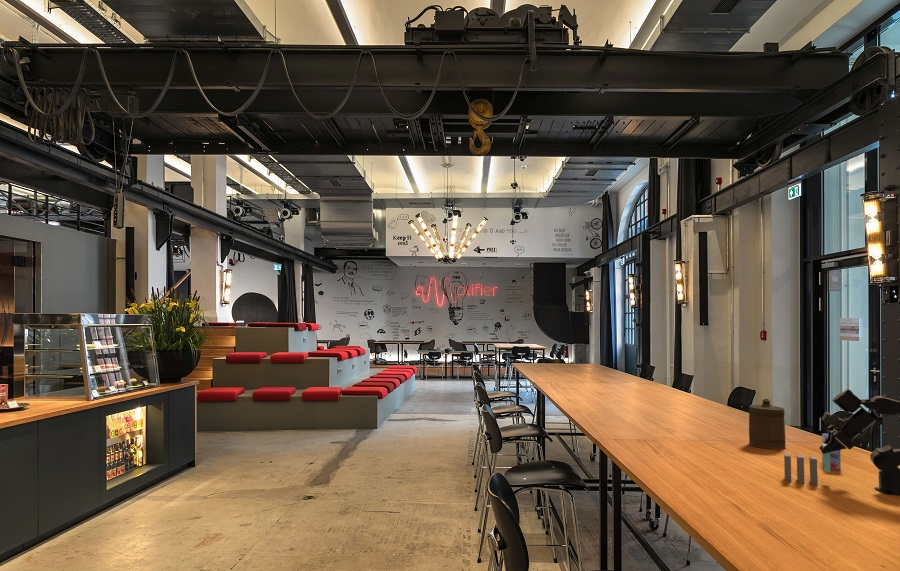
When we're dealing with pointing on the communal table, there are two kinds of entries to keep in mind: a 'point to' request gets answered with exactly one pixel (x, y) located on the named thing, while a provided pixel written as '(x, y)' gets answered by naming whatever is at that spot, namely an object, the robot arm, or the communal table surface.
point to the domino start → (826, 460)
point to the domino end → (787, 466)
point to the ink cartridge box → (833, 456)
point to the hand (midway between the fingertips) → (821, 451)
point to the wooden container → (767, 426)
